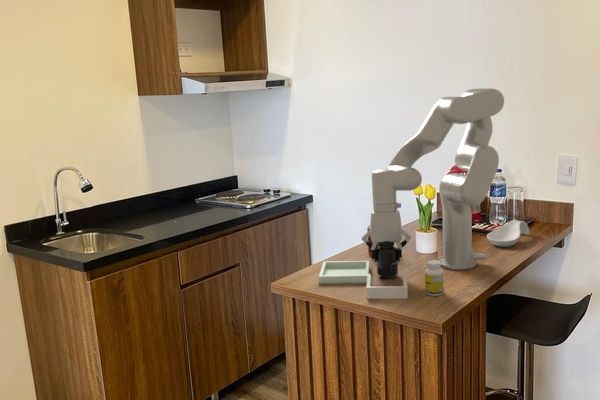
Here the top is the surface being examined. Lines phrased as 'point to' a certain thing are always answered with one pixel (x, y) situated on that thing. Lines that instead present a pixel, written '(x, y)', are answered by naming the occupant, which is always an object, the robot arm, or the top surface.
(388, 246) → the supplement bottle
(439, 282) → the supplement bottle
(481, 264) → the top surface
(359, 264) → the tray
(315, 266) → the top surface
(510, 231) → the spoon rest
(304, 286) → the top surface
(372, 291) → the bay
